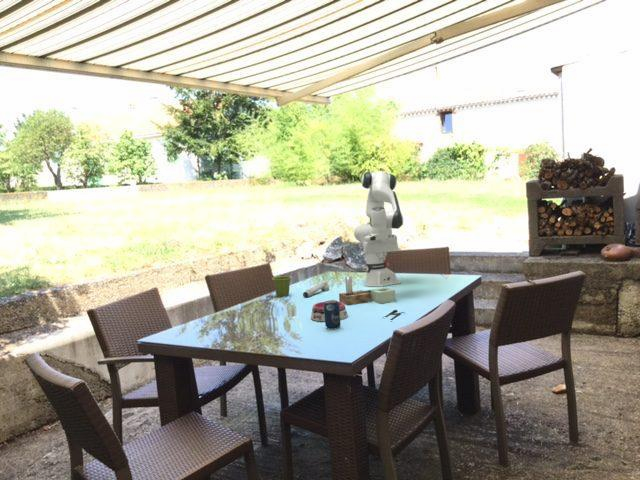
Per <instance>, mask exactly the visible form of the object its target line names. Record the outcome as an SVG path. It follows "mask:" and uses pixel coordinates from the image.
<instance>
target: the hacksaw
mask: <svg viewBox="0 0 640 480" xmlns="http://www.w3.org/2000/svg"><path fill="white" fill-rule="evenodd" d="M402 314H403V315H405V314H406V312H404V311H401V312H398V310H397V309H394V310H392V311H391V312H390V313H388V314H386V315H384V316H383V317H382V318H384V317H386V318H387V317H389V316H391V315H393V317H391V319H389V320H394V319H396V318H397V317H399V316H401V315H402ZM384 319H385V318H384Z"/></svg>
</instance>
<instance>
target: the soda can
mask: <svg viewBox="0 0 640 480" xmlns="http://www.w3.org/2000/svg"><path fill="white" fill-rule="evenodd" d="M337 301H338V300H335V299H333V300H330V299H329V300H326V301H324V302H325V304H324V314H325V322H324V323H325V324H324V326H325V327H326V328H327V329H328V328H329V330H336V329H335V328H337V329H339V328H340V327H341V320H340V311H339V304H338V302H339V301H338V302H337Z"/></svg>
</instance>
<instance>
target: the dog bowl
mask: <svg viewBox="0 0 640 480" xmlns="http://www.w3.org/2000/svg"><path fill="white" fill-rule="evenodd" d="M336 301H337V302H338V304H339V311H340V321H342V320H345V319H348V318H349V314H348V311H347V309H346V306H345V305H346V304H344V303H342V302H340V301H338V300H336ZM325 302H326V301H321V302H316V303H314V304H313V306H312V309H311V315H310V320H311V321H313V322H315V321H316V323H325V314H324V304H325Z"/></svg>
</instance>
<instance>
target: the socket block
mask: <svg viewBox="0 0 640 480" xmlns="http://www.w3.org/2000/svg"><path fill="white" fill-rule="evenodd" d="M359 291H364V290H362V289H360V290H353V295H348V296H347V295H346V292H342V293H341V292H339V293H338V299H339V301H338V302H342V303H344V305H347V306H351V305H358V304H364V303H370V302H372V301H371V293H368V292H366V293H359V294H358V293H357V292H359Z"/></svg>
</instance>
